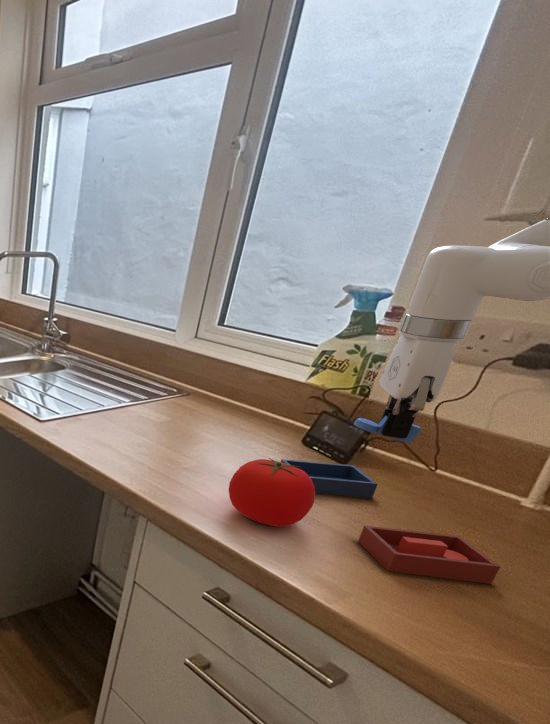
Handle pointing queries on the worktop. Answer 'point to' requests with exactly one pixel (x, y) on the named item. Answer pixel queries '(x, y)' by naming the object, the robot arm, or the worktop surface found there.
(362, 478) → the blue tub
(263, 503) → the tomato
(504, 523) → the worktop surface
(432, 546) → the red stepped block
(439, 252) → the robot arm
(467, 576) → the red tub
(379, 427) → the blue stepped block
